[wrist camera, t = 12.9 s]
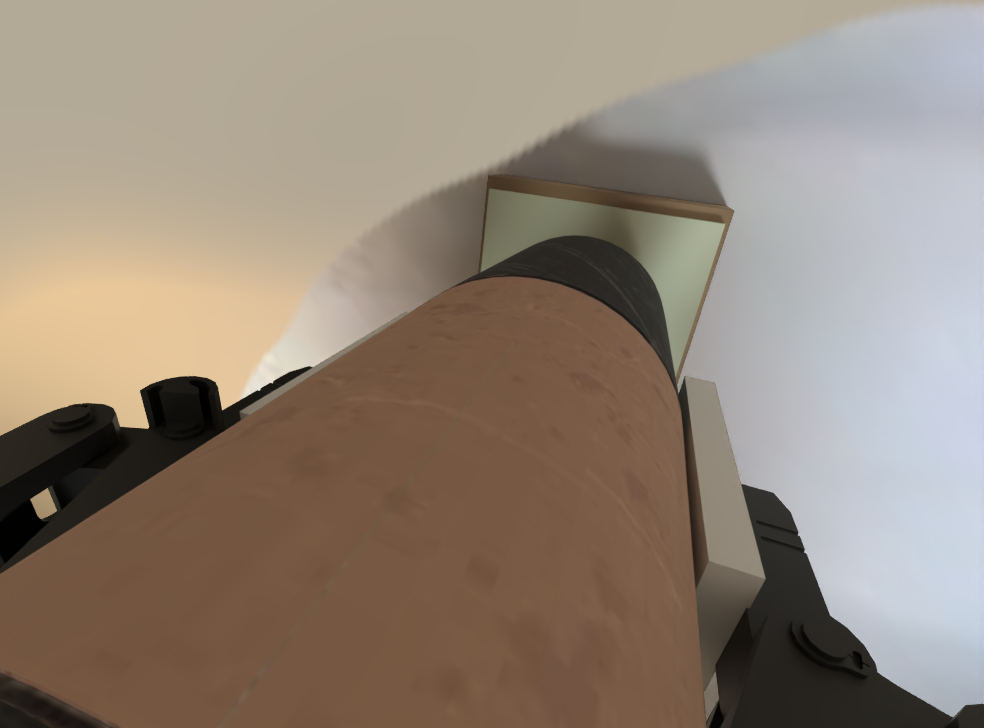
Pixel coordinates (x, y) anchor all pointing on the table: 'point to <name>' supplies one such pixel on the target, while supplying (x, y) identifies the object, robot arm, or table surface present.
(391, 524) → the travel mug
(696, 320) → the board with grey blocks
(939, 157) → the table surface
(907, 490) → the table surface
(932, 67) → the table surface
